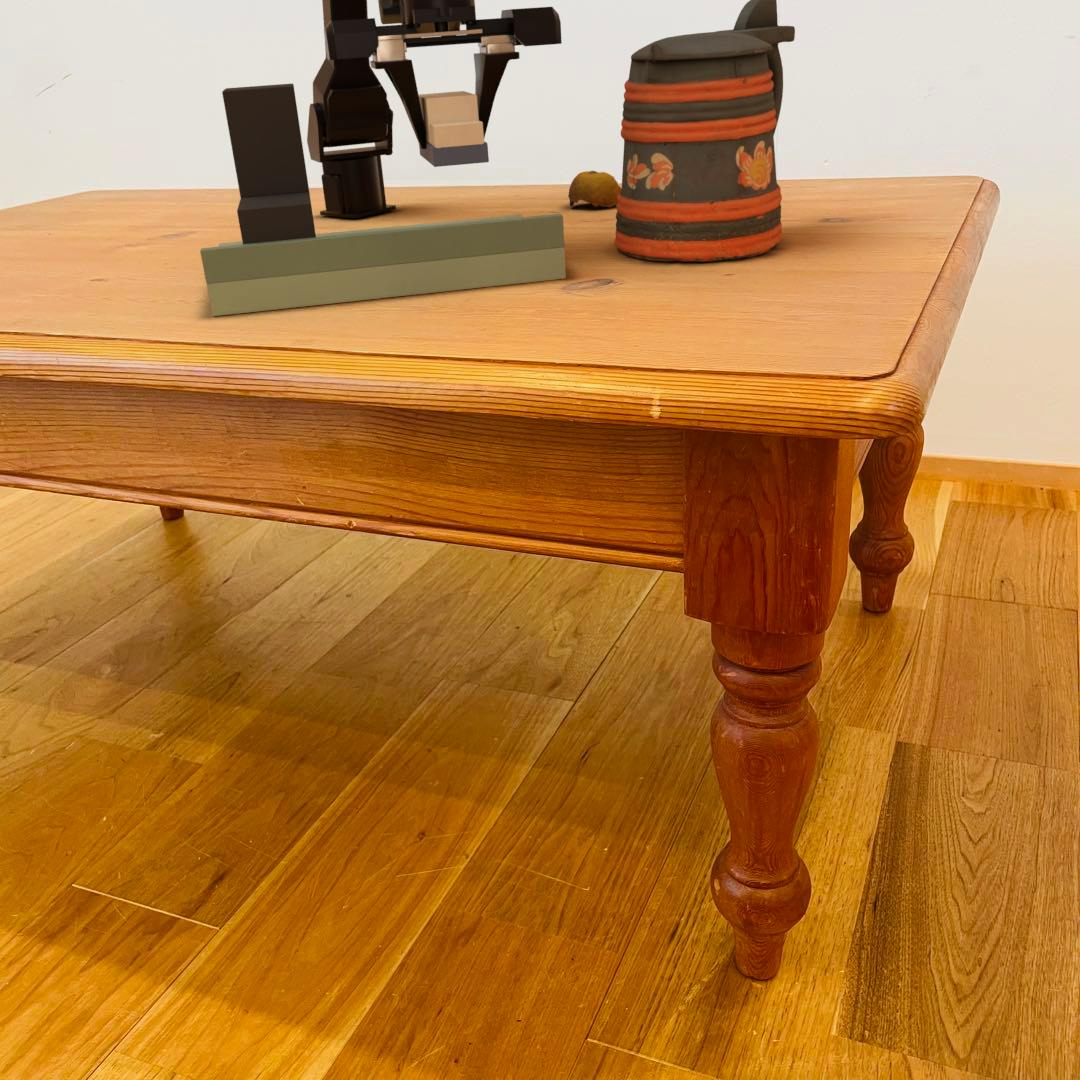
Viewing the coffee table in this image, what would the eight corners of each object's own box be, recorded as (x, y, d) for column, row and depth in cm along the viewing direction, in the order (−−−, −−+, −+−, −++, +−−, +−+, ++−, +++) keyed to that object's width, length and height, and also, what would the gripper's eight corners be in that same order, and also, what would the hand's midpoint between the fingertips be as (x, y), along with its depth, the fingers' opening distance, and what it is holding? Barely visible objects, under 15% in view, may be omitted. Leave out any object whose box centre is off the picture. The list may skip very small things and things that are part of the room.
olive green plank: (224, 271, 99) (213, 215, 96) (522, 241, 103) (519, 186, 101) (212, 316, 83) (199, 250, 80) (566, 278, 87) (563, 215, 85)
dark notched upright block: (253, 249, 94) (225, 88, 88) (316, 243, 95) (293, 83, 89) (248, 277, 83) (216, 95, 77) (320, 269, 84) (294, 89, 78)
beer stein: (698, 219, 108) (699, -3, 99) (833, 229, 99) (848, -14, 91) (582, 255, 95) (572, 3, 87) (726, 269, 87) (731, -9, 78)
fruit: (653, 200, 120) (653, 166, 119) (607, 212, 115) (606, 176, 113) (596, 196, 126) (595, 163, 124) (549, 208, 120) (547, 173, 119)
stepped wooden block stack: (420, 155, 95) (413, 94, 93) (469, 150, 96) (464, 90, 94) (434, 167, 87) (427, 100, 84) (489, 162, 87) (483, 95, 85)
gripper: (528, -63, 93) (539, 130, 100) (310, -51, 90) (337, 147, 97) (557, -74, 83) (567, 140, 90) (313, -61, 80) (343, 159, 87)
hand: (452, 146), depth 91 cm, fingers closed on stepped wooden block stack, 4 cm apart
